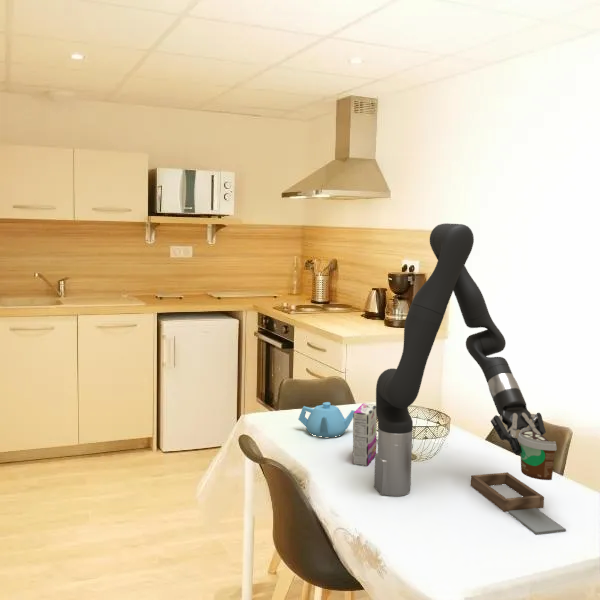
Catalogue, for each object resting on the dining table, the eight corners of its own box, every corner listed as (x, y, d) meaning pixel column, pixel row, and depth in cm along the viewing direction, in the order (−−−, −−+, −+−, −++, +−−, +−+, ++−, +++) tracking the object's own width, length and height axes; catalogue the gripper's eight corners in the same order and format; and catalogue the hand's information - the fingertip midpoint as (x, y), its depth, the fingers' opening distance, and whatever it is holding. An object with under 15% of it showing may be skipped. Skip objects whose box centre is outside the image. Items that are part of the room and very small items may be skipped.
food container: (507, 464, 169) (509, 427, 168) (529, 463, 170) (531, 426, 169) (531, 483, 157) (532, 443, 156) (555, 482, 158) (557, 442, 157)
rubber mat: (535, 534, 155) (536, 532, 155) (508, 513, 166) (508, 510, 166) (565, 531, 157) (565, 529, 157) (536, 510, 168) (536, 508, 168)
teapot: (329, 423, 240) (329, 395, 239) (357, 434, 228) (357, 404, 227) (296, 431, 231) (296, 401, 230) (323, 442, 219) (323, 411, 218)
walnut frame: (503, 512, 167) (504, 500, 167) (470, 485, 184) (470, 475, 183) (543, 508, 170) (544, 496, 169) (506, 482, 186) (507, 472, 186)
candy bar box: (361, 452, 209) (362, 402, 207) (376, 455, 208) (377, 404, 206) (351, 464, 199) (352, 411, 197) (367, 466, 197) (368, 413, 195)
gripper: (488, 388, 170) (511, 448, 160) (536, 385, 173) (562, 444, 163) (476, 402, 175) (498, 461, 165) (523, 400, 179) (548, 457, 169)
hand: (530, 452), depth 164 cm, fingers closed on food container, 5 cm apart
